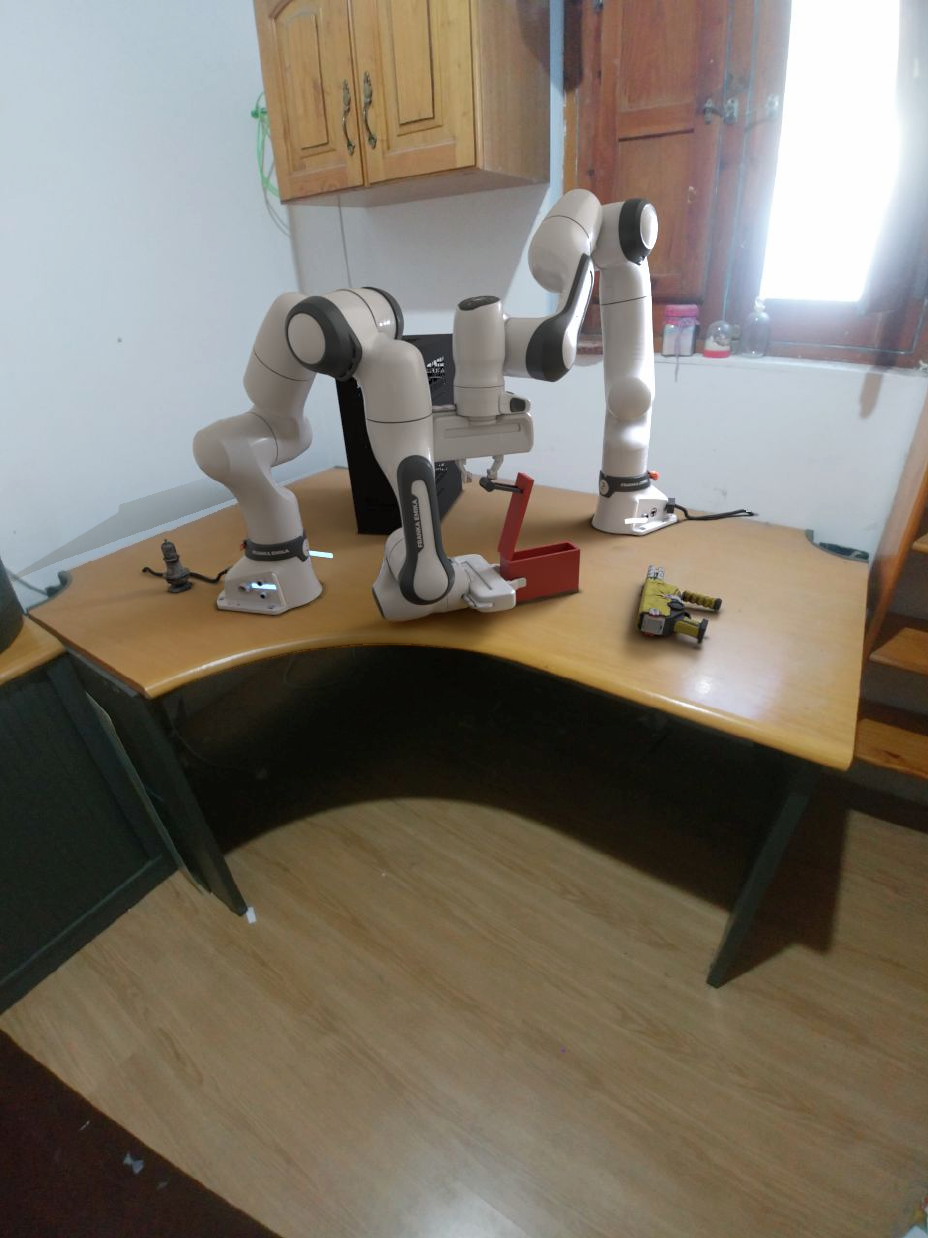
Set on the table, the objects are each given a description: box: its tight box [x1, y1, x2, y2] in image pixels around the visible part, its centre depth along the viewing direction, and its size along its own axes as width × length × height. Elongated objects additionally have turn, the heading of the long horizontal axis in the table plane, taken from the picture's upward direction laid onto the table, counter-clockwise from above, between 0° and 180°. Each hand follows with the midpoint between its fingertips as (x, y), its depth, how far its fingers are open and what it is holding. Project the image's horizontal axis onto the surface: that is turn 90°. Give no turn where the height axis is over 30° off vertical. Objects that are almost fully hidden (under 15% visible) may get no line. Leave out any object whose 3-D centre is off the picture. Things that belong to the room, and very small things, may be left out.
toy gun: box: [635, 564, 723, 645], centre depth 117 cm, size 5×24×15 cm
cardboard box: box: [334, 332, 463, 535], centre depth 165 cm, size 38×20×45 cm, turn 167°
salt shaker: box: [160, 538, 194, 593], centre depth 136 cm, size 6×6×12 cm
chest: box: [499, 540, 581, 607], centre depth 125 cm, size 16×5×10 cm, turn 109°
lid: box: [478, 471, 535, 560], centre depth 116 cm, size 16×5×9 cm
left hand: (518, 574), depth 124 cm, fingers closed on chest, 5 cm apart
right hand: (479, 480), depth 111 cm, fingers open, 4 cm apart
